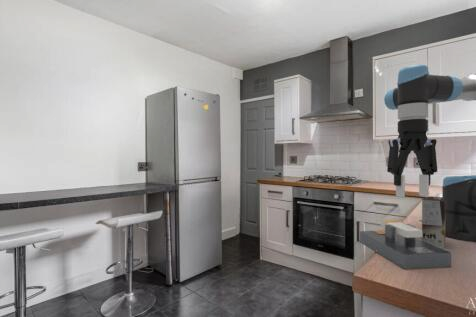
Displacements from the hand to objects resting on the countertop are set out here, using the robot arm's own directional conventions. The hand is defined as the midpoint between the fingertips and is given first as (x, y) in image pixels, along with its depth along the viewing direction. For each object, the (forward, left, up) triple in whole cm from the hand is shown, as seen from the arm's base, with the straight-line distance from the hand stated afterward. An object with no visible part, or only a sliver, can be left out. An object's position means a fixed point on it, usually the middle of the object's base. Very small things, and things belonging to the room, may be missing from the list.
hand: (412, 196), depth 78 cm
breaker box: (0, -5, -19) cm, 20 cm away
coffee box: (-18, -12, -19) cm, 29 cm away
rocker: (0, -5, -12) cm, 13 cm away
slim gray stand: (-10, -6, -19) cm, 22 cm away
